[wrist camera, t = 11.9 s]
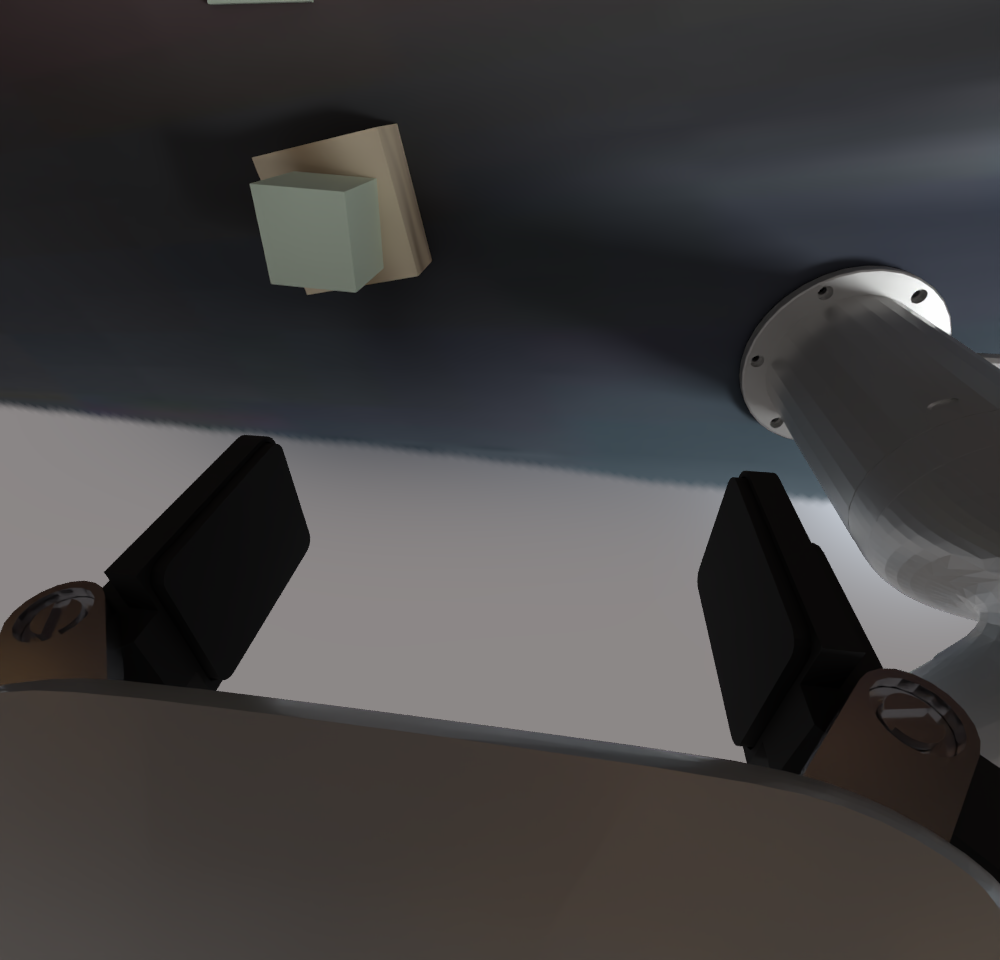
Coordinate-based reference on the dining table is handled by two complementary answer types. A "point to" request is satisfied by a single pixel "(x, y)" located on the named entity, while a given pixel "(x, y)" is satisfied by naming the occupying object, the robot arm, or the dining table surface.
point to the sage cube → (319, 229)
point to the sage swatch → (253, 1)
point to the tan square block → (396, 197)
